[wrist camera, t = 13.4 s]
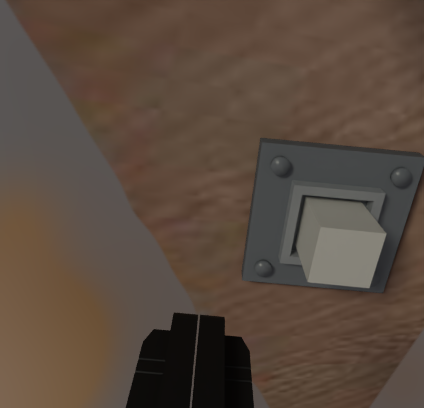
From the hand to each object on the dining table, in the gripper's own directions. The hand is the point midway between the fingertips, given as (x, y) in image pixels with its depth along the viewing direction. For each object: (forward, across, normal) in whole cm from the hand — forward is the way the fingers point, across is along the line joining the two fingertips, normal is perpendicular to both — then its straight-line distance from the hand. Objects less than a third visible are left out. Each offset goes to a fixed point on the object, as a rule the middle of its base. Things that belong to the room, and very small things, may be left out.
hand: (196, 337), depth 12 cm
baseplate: (+25, -11, +7) cm, 28 cm away
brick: (+24, -11, +7) cm, 27 cm away
